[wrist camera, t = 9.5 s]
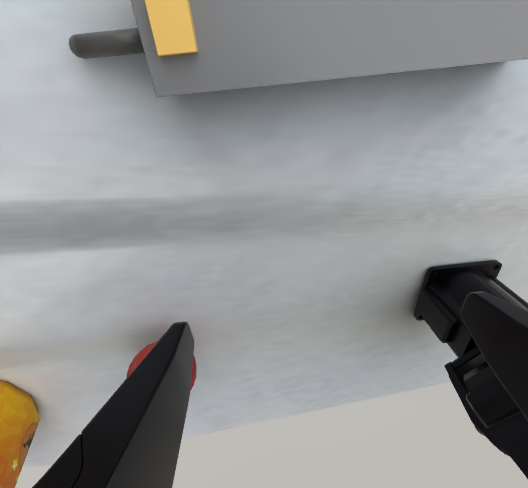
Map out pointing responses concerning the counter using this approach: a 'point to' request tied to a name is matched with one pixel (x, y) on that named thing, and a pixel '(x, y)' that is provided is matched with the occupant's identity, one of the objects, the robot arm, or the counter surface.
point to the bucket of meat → (15, 431)
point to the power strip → (308, 39)
